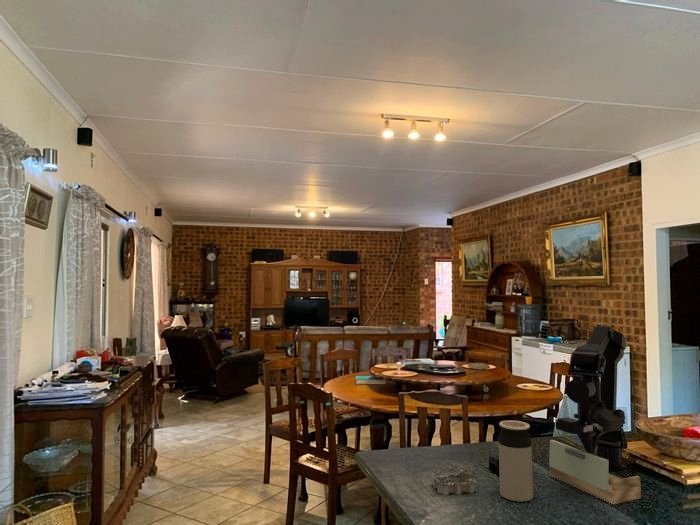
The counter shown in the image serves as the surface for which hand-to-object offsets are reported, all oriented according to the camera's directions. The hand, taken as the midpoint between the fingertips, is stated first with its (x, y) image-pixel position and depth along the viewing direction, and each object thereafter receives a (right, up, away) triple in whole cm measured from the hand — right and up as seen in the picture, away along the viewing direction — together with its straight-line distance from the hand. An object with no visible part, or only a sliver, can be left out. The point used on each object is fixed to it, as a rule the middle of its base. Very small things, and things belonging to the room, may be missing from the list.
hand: (590, 455), depth 129 cm
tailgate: (-4, -5, -2) cm, 7 cm away
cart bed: (0, -8, 0) cm, 8 cm away
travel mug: (-22, -8, -6) cm, 24 cm away
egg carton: (-37, -9, -2) cm, 38 cm away
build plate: (-22, -10, +11) cm, 26 cm away
